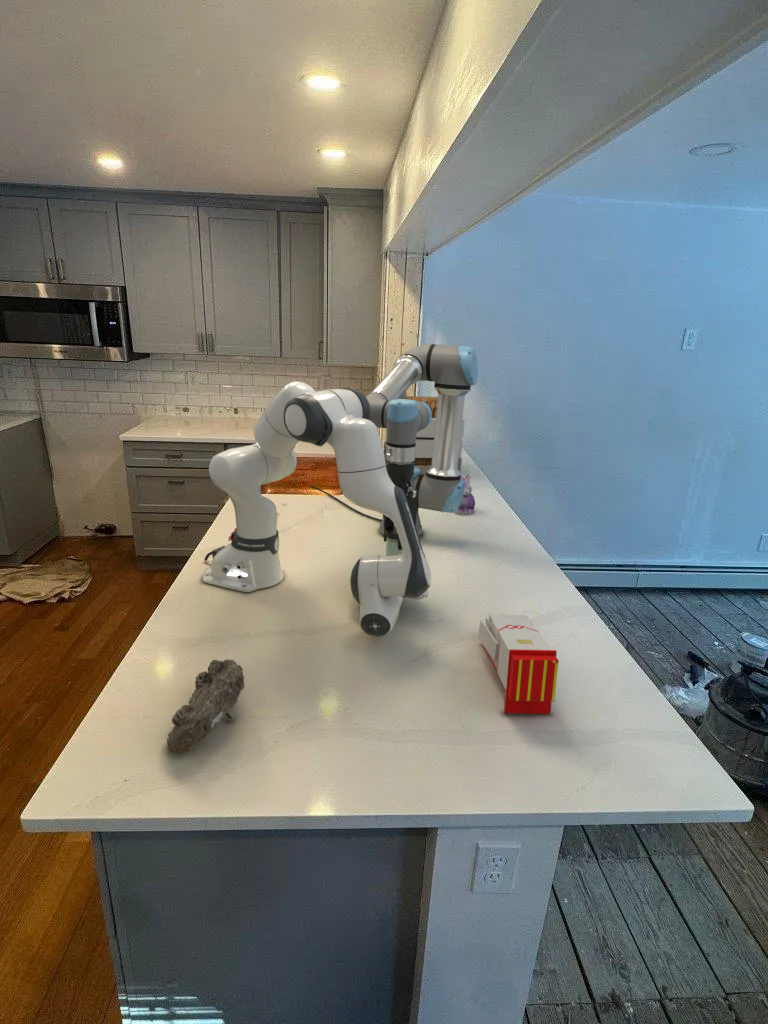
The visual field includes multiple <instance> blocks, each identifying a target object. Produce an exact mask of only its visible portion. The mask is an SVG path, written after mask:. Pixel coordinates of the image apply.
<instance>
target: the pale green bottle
mask: <svg viewBox="0 0 768 1024" xmlns="http://www.w3.org/2000/svg"><path fill="white" fill-rule="evenodd" d="M402 554H404V552H403V549H402V550H398V540H393V539H389V538H386V542H385V556H392V555H402Z"/></svg>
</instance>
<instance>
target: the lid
mask: <svg viewBox="0 0 768 1024" xmlns="http://www.w3.org/2000/svg"><path fill="white" fill-rule="evenodd" d="M385 536H386V537H387V538H389V539H393V540H398V539H399V535H398V532H397V529H396V526H391V527H387V528H386V530H385Z"/></svg>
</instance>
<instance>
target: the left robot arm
mask: <svg viewBox="0 0 768 1024" xmlns="http://www.w3.org/2000/svg"><path fill="white" fill-rule="evenodd" d="M366 396H367V395H365V394H364V393H363V392H362V391H361V390H358V389H355V388H350V387H341V388H327V389H322V390H318V391H316V390H315V389H314V388H313V387H312V386H311V385H309V384H308V383H306V382H303V381H298V380H297V381H295V380H294V381H291V382H289V383H287V384H285V385H284V386H283V387H282V388H281V389H280V390H279V391H278V392H277V393H276V395H275V396H274V397H273V398H272V400H271V401H270V402H269V404H268V405H267V406H266V408H265V409H264V411H263V412H262V414H261V415H260V417H259V419H258V420H257V422H256V424H255V425H254V427H253V436H254V440H255V442H254V443H252V444H249V445H244V446H238V447H232V448H228V449H226V450H223V451H220V452H219V453H217V454H214V456H212V458H210V462H209V465H208V475H209V478H210V480H211V482H212V484H213V485H214V486H215V487H216V488H217V489H218V490H221V491H222V492H223V493H225V494H226V496H228V497H229V499H230V501H231V503H232V505H233V509H234V515H235V525H236V526H235V528H234V530H233V531H232V532H231V533H230V535H229V536H228V540H227V541H228V542H230V543H229V544H227V545H222V546H220V547H217V548H214V549H213V550H211V551H209V552H208V553H207V554H206V555H205V556H204V559H203V561H205V562H207V561H208V560H209V558H210V556H212V560H211V565H210V567H208V568H207V570H206V571H205V572H204V573H203V577H202V581H203V583H205V584H209V585H214V586H218V587H222V588H227V589H231V590H235V591H239V592H242V593H250V592H251V593H252V592H253V591H256V590H261V589H266V588H270V587H273V586H275V585H278V584H279V583H280V582H282V581H283V579H284V578H285V574H284V571H283V567H282V565H281V561H280V555H279V550H280V538H279V537H280V535H279V530H278V519H277V517H278V514H277V513H278V511H277V505H276V504H275V503H274V502H273V500H271V498H268V497H266V496H264V495H263V494H262V489H261V487H262V485H267V484H270V483H274V482H278V481H281V480H283V479H285V478H286V477H289V476H290V475H292V474H293V473H294V472H295V471H296V468H297V463H298V459H297V454H296V451H295V448H296V446H297V445H298V443H299V442H303V443H308V444H312V445H315V446H316V447H323V446H324V445H325V444H328V445H330V447H331V448H332V450H333V451H334V456H335V463H336V471H337V478H338V484H339V487H340V488H339V489H340V491H341V493H342V495H343V496H344V498H346V500H347V501H349V502H350V503H352V504H354V505H355V506H356V507H359V508H362V509H366V510H369V511H371V512H372V511H373V512H375V513H378V514H380V513H381V514H380V515H382V516H383V515H385V516H387V517H389V518H390V519H391V520H392V521H393V522H394V524H395V526H396V529H397V532H398V535H399V539H400V542H401V545H402V549H403V552H404V554H402V555H392V556H386V555H372V556H361V557H360V558H359V559H357V561H356V562H355V563H354V565H353V567H352V570H351V574H350V590H351V593H352V601H353V602H355V603H357V604H358V605H359V607H360V609H359V626H360V629H361V630H362V631H363V632H364V633H365V634H367V635H369V636H371V637H383V636H386V635H388V634H389V633H390V632H391V631H392V630H393V629H394V627H395V625H396V623H397V620H398V618H399V615H400V609H401V607H402V604H403V600H404V599H407V600H415V601H420V600H423V599H426V598H428V596H429V588H430V587H431V584H432V583H431V581H432V571H431V568H430V565H429V562H428V560H427V557H426V555H425V552H424V549H423V546H422V544H421V539H420V537H419V536H418V533H417V529H416V526H415V523H414V519H413V516H412V513H411V510H410V507H409V504H408V501H407V498H406V496H405V494H404V492H403V490H402V489H401V488H400V487H397V486H395V485H394V483H393V482H392V481H391V479H390V477H389V475H388V473H387V469H386V463H385V456H384V445H383V442H382V440H381V439H382V438H381V436H380V432H379V429H378V427H376V425H375V424H374V423H373V422H372V421H370V420H369V417H370V405H369V402H368V400H367V398H366Z"/></svg>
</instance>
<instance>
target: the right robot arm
mask: <svg viewBox="0 0 768 1024" xmlns="http://www.w3.org/2000/svg"><path fill="white" fill-rule="evenodd" d="M478 374H479V363H478V356H477V353H476V351H475V349H474V348H473V347H470V346H466V345H465V346H464V345H460V344H459V345H455V344H454V345H453V344H438V343H437V344H436V343H435V344H434V343H423V344H419V345H417V346H413V347H411V348H410V349H408V350H406V351H404V352H403V353H402V354H401V355H400V356H398V357H397V358H396V359H395V360H394V362H393V367H392V368H391V370H390V371H389V372H388V373H386V375H385V376H384V377H383V378H382V379H381V381H379V382H378V383H377V384H376V386H375V387H374V388H373V389H372V390H371V391H370V392H369V393H368V395H365V396H366V398H367V400H368V402H369V405H370V417H369V420H370V421H372V422H373V423H374V424H375V425H376V427H377V428H379V429H386V428H387V441H385V442H386V459H387V461H386V462H385V463H386V469H387V473H388V475H389V477H390V479H391V481H392V482H393V483H394V485H395V486H397V487H400V488H401V489H402V490H403V492H404V494H405V496H406V498H407V501H408V504H409V507H410V510H411V513H412V516H413V519H414V523H415V526H416V529H417V533H418V536H419V538H420V537H421V536H422V535H423V525H422V524H421V518H420V515H419V509H424V510H429V511H433V512H434V511H435V512H441V513H449V514H453V513H456V510H457V509H458V508H459V506H460V503H461V501H462V498H463V494H464V490H465V481H464V480H463V479H461V475H462V473H460V472H459V470H458V469H457V464H458V455H459V446H460V439H461V438H460V436H461V427H462V419H464V408H465V398H466V395H467V394H468V393H469V392H470V391H471V386H475V385H476V384H477V381H478ZM422 381H423V382H434V383H433V384H434V386H433V387H434V390H435V391H436V393H437V397H438V402H437V413H436V423H435V434H434V444H433V455H432V465H430V466H429V468H427V469H426V472H425V473H422V469H421V468H419V467H417V466H414V465H415V464H414V462H413V461H415V451H416V434H417V432H418V431H420V430H422V429H424V428H426V427H427V425H428V424H429V423H430V421H431V419H432V412H431V409H430V407H429V406H428V405H427V404H426V403H424V402H421V401H414V400H409V399H400V398H401V396H402V395H403V394H404V393H405V392H406V393H407V391H408V389H409V388H410V387H411V386H412V385H415V384H417V383H419V382H422ZM310 488H312V489H313V490H317V491H319V492H322V493H323V494H325V495H328V496H329V497H331V498H333V499H334V500H335V501H337V502H338V503H340V504H342V505H343V506H345V507H346V508H348V509H350V510H352V511H354V512H355V513H357V514H359V515H362V516H364V517H366V518H369V519H371V520H374V521H378V522H379V526H378V533H379V534H380V535H381V536H382V537H383V542H384V543H386V538H387V537H386V536H385V530H386V528H387V527H391V526H395V524H394V522H393V521H392V520H391V519H390V518H389V517H387V516H385V515H383V514H381V513H379V514H380V515H382V519H381V518H377V517H374V516H371V515H368V514H366V513H364V512H362V511H360V510H357V509H356V508H354V507H352V506H350V505H348V504H347V503H345V502H343V501H342V500H340V499H338V498H337V497H335V496H334V495H332V494H331V493H329V492H327V491H325V490H323V489H321V488H318V487H317V486H314V485H310ZM398 550H402V545H401V542H400V539H398Z"/></svg>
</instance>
